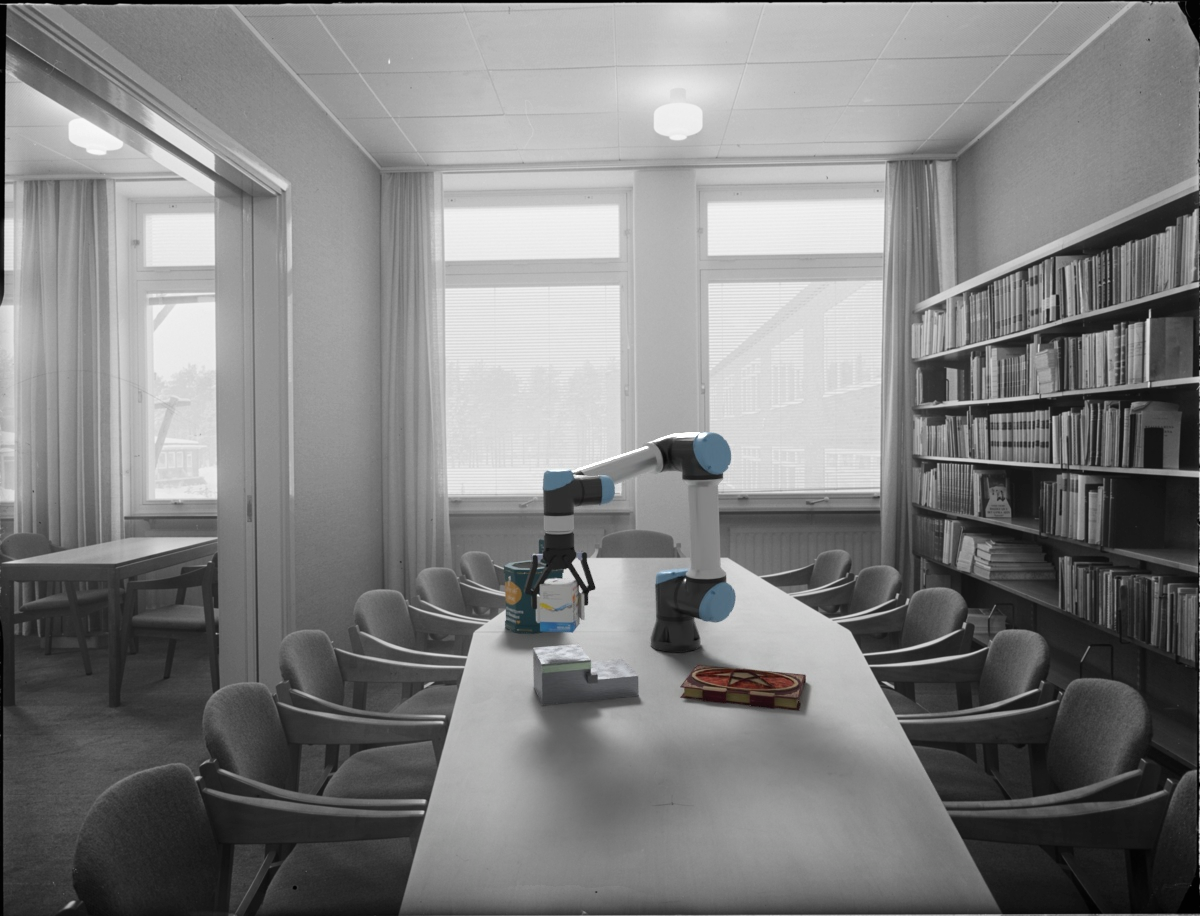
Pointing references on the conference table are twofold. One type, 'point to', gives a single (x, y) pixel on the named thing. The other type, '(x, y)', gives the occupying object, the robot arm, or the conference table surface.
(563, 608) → the ink box
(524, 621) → the donation box
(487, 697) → the conference table surface
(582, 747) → the conference table surface
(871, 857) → the conference table surface
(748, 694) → the book
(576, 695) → the stepped stand
